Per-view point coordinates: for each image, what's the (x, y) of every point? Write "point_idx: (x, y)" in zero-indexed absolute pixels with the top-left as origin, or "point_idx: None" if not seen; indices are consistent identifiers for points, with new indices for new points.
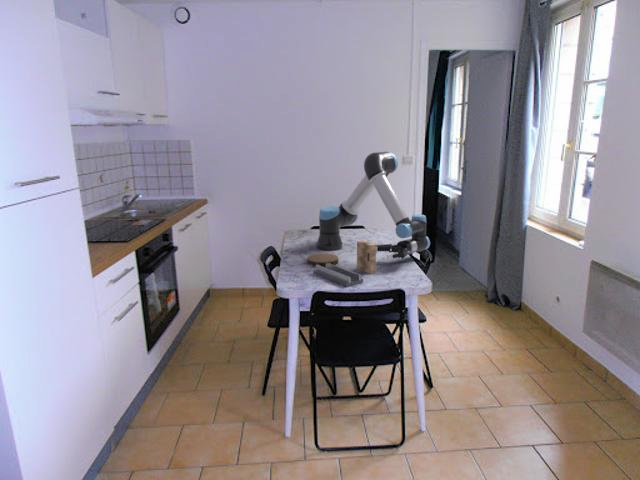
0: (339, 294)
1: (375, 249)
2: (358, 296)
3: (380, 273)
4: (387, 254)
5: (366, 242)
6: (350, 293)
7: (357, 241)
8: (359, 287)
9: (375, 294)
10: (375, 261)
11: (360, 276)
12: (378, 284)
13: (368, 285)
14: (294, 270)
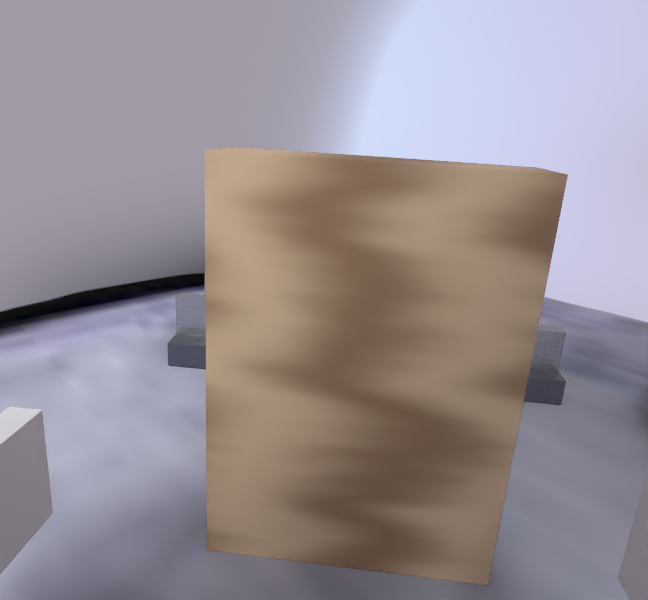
0: (187, 282)
1: (208, 232)
2: (96, 290)
3: (128, 562)
4: (29, 415)
5: (402, 162)
6: (148, 293)
7: (529, 167)
8: (146, 328)
9: (15, 313)
10: (207, 412)
11: (176, 309)
12: (40, 381)
13: (107, 354)
14: (627, 334)
